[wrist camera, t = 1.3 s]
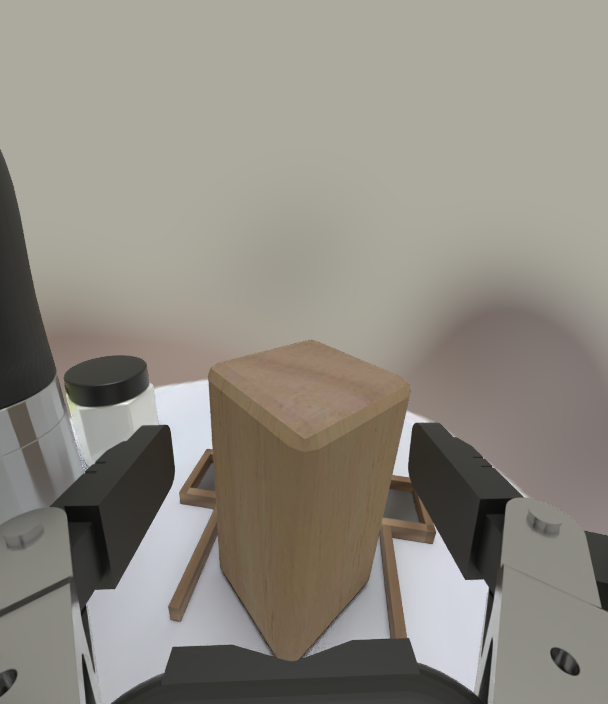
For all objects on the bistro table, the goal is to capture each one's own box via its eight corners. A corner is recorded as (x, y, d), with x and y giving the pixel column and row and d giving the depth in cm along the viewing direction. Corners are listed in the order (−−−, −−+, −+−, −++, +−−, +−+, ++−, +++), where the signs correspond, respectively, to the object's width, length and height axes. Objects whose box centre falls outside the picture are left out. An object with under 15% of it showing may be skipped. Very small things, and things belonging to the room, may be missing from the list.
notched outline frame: (116, 608, 24) (113, 595, 23) (239, 406, 51) (239, 397, 51) (469, 678, 22) (475, 666, 21) (400, 426, 49) (402, 418, 48)
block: (299, 505, 34) (312, 334, 26) (373, 580, 27) (420, 378, 20) (215, 565, 28) (201, 361, 20) (285, 681, 21) (304, 439, 13)
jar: (120, 427, 44) (105, 350, 40) (172, 436, 43) (163, 358, 39) (65, 471, 36) (38, 381, 32) (127, 484, 35) (109, 392, 31)
